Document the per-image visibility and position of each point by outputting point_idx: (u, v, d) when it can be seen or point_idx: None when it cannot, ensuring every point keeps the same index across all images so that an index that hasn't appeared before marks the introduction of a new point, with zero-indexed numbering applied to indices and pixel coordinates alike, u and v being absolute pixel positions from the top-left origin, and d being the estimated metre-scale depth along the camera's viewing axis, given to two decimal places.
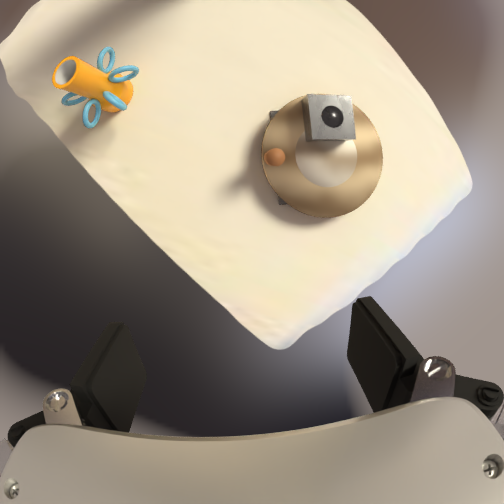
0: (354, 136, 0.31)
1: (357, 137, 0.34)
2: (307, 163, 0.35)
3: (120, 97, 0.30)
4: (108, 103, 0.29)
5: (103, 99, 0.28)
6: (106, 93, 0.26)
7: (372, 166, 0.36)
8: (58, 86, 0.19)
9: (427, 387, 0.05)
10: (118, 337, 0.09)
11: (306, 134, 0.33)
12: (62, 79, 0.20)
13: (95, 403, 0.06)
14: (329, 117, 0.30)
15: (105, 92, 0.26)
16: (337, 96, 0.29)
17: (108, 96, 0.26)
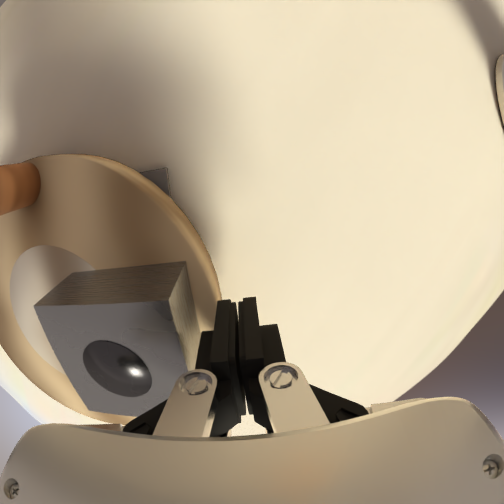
0: (93, 408, 0.10)
1: None
2: (32, 275, 0.11)
3: None
4: None
5: None
6: None
7: None
8: None
9: (281, 398, 0.06)
10: (235, 313, 0.10)
11: (78, 277, 0.10)
12: None
13: (233, 379, 0.08)
14: (110, 363, 0.09)
15: None
16: None
17: None
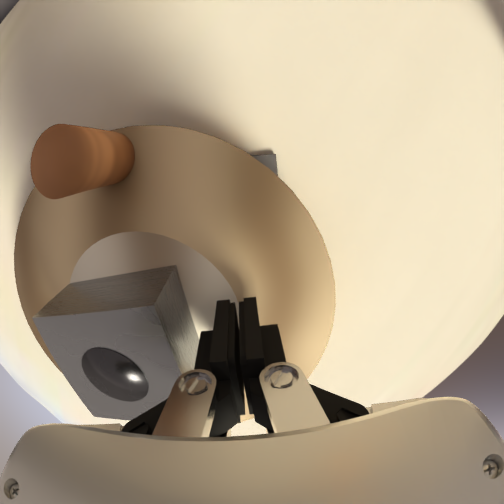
0: (97, 414, 0.10)
1: None
2: (109, 268, 0.11)
3: None
4: None
5: None
6: None
7: None
8: None
9: (281, 398, 0.06)
10: (234, 313, 0.10)
11: (74, 287, 0.10)
12: None
13: (232, 378, 0.08)
14: (108, 369, 0.09)
15: None
16: None
17: None
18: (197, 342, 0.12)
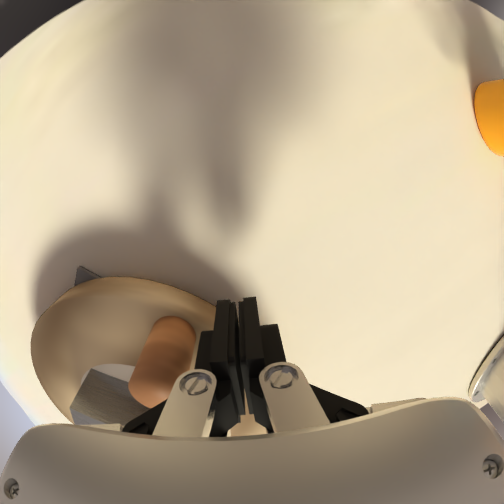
0: None
1: None
2: None
3: None
4: None
5: None
6: None
7: None
8: None
9: (281, 398, 0.06)
10: (234, 313, 0.10)
11: (99, 381, 0.13)
12: None
13: (233, 378, 0.08)
14: None
15: None
16: None
17: None
18: None
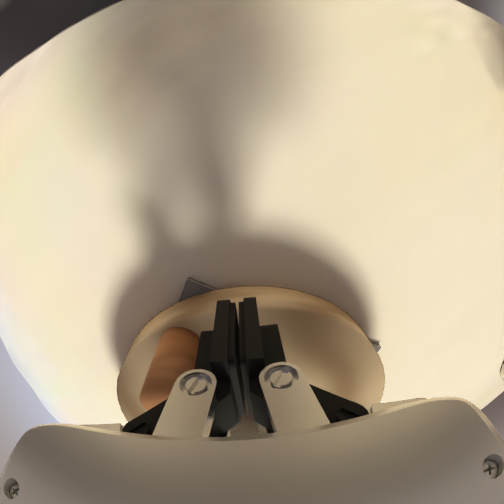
0: None
1: None
2: None
3: None
4: None
5: None
6: None
7: None
8: None
9: (281, 398, 0.06)
10: (234, 313, 0.10)
11: None
12: None
13: (233, 378, 0.08)
14: None
15: None
16: None
17: None
18: None
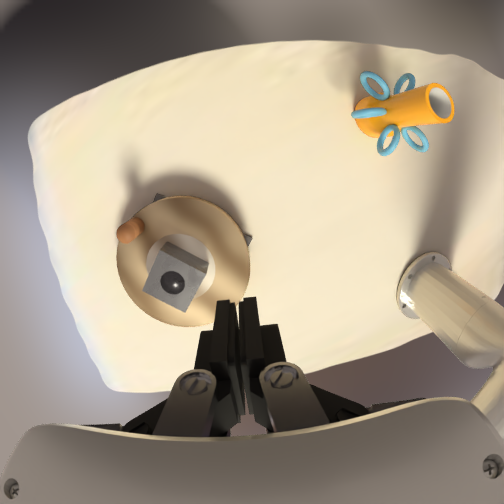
0: (185, 310, 0.32)
1: (220, 282, 0.35)
2: None
3: (367, 119, 0.28)
4: (371, 105, 0.27)
5: (379, 105, 0.26)
6: (383, 112, 0.24)
7: (209, 311, 0.36)
8: (432, 85, 0.17)
9: (281, 398, 0.06)
10: (234, 313, 0.10)
11: None
12: (434, 94, 0.18)
13: (232, 378, 0.08)
14: (169, 281, 0.31)
15: (384, 112, 0.24)
16: (189, 267, 0.30)
17: (378, 111, 0.23)
18: (193, 256, 0.33)
